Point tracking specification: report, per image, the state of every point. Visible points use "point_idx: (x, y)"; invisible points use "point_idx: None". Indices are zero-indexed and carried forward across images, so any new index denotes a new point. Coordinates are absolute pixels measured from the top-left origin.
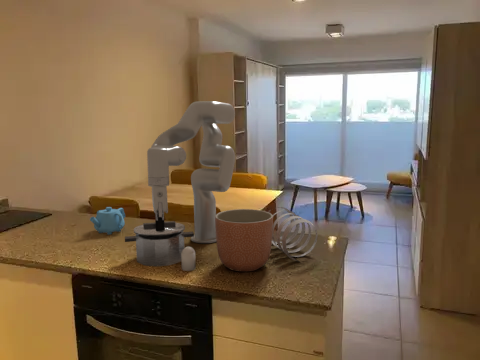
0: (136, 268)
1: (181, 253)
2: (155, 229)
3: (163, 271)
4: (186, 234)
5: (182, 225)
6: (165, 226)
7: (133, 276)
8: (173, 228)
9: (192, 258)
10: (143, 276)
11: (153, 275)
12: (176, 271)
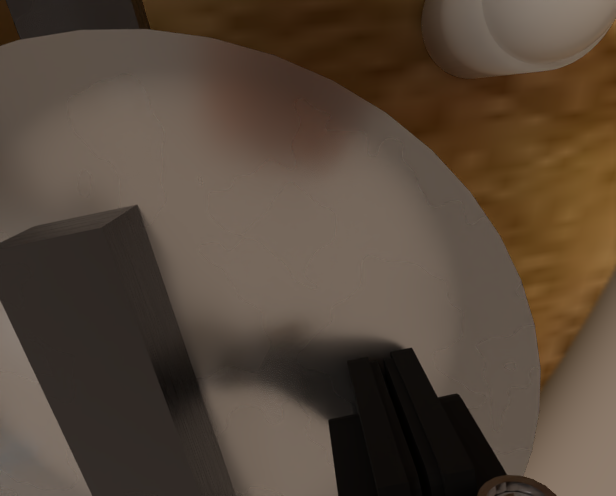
0: None
1: (560, 67)
2: (308, 463)
3: (504, 208)
4: (138, 22)
5: (14, 84)
6: (185, 363)
7: (550, 370)
8: (272, 225)
9: None
10: (563, 317)
11: (561, 261)
12: (523, 114)
